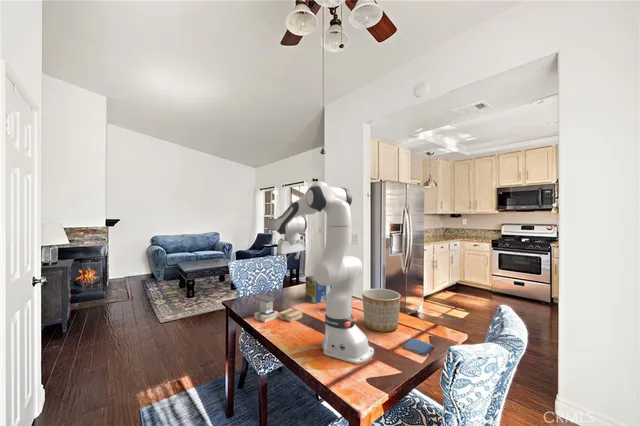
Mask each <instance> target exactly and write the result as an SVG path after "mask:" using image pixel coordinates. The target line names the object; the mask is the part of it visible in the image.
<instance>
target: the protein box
mask: <svg viewBox="0 0 640 426" xmlns="http://www.w3.org/2000/svg"><path fill="white" fill-rule="evenodd" d="M332 286H333V285H331V286H325V285H320V284H318V283H317V282H316V280H315V278H314V275H309V276H305V301H307V302H311V303H313V304H315V305H316V304H320V303H321V299H323V300H326V297H327V294H328V293H329V291H330V290H331V289H332Z"/></svg>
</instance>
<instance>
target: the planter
mask: <svg viewBox="0 0 640 426" xmlns="http://www.w3.org/2000/svg"><path fill="white" fill-rule="evenodd" d="M361 295H362V296H361V297H362V308H363V309H362V311H363V322H364V323H363V324H365V326H366V328H368V329H370V330H371V331H375V332H380V333H385V332H386V333H387V332H393V331H395V330H397V329H398V327H399V319H400V308H401V296H402V295H401V294H400V293H399V292H397V291H395V290H392V289H387V288H369V289H365V290H364V291H362V293H361Z"/></svg>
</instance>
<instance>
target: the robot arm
mask: <svg viewBox="0 0 640 426" xmlns="http://www.w3.org/2000/svg"><path fill="white" fill-rule="evenodd" d="M352 202H353V196H352V192H351V191H350V190H349V189H348V188H346V187H343V186H342V187H337V186H331V185H328V184H327V182H324V181H319V180H318V181H315V182H314V183H313V184H312V185H311V186H310V187H309V188H308V189H307V191H305V193H304V194H303V196H301V197H300V198H299V199H297V200H296V201H294V202H293V203H291V204H290V205H289V206H288V208H286V210H285V211H284V212H283V213H282V214H281V215H280V216H278V217H277V218H276V220H275V222H274V229H275V231H276V232H277V233H278V234H279V235H283V238H281V237H280V239H279V240H277V248H276V253H277V255H281V256H282V258H283V262H288V258H287V257H286V256H287V254H292V253H295V256H294V259H295V260H299V256H300V254H301V252H304V251H305V236H304V235H302V233H304V232H306V230H307V229H308V221H307V219H306V218H305V217H304V216H307V215H313V214H316V213H318V212H319V213H321V212H322V211H324V212H325V215H326V221H325V223H326V229H325V231H326V232H325V246H324V249H323V253H322V255H321V256H320V259H319V260H318V261H317V262H316V263H315V265H314V267H313V270H312V271H313V272H312V274H313V275H314V278H315V280H316V282H317V283H318V284H320V285H325V286H331V285H332V289H331V290H330V291H329V293H328V294H327V297H326V303H325V313H324V323H325V327H324V328H325V331H324V336H323V337H324V338H323V341H322V345H321V347H322V350H323V354H324V355H325V356H327V357H331V358H334V359H338V360H342V361H344V362H348V363H352V364H356V365H359V364H363V363H366V362H367V361H368V360H370V359H371V358H372V357H373V356H374V354H375V349H374V348H373V347H372V346H370V345H369V341H368V337H367V336H366V334H365V333H364V332H363V331H362V330H361V329H360V328H359V326H357V325H356V322H357V317H355V318H354V316H353V314H352V304H353V303H352V301H353V295H354V293H353V292H354V290H355V287H356V284H357V281H358V280H359V278H360V276H361V275H362V273H363V269H364V268H363V263H362V261H361V260H360V259H359V258H358V256H357V257H356V256H352V255H346V252H347V251H348V249H349V248H350V247H351V245H352V243H353V242H352V241H353V238H352V235H353V234H352V233H353V231H352V229H353V228H352V225H353V224H352V222H353V221H352V214H351V213H352V212H351V205H352Z"/></svg>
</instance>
